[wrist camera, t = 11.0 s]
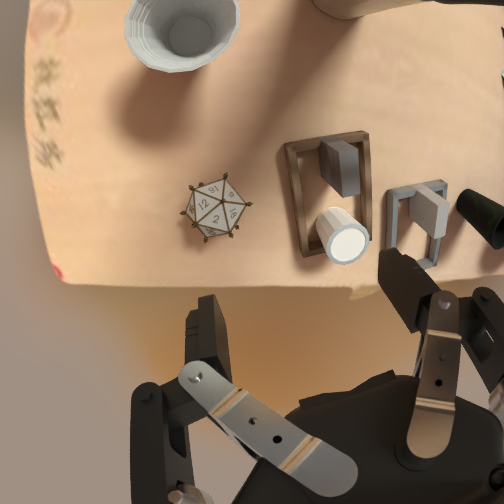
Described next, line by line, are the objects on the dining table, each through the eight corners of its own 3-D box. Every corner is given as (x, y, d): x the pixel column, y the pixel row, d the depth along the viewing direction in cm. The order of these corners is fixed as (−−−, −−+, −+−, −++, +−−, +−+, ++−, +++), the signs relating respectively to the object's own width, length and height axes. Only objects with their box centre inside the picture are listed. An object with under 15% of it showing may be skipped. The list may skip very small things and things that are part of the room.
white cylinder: (354, 202, 46) (373, 222, 40) (347, 239, 50) (365, 263, 44) (313, 203, 46) (329, 225, 40) (309, 242, 49) (323, 267, 43)
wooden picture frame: (283, 143, 40) (300, 159, 33) (362, 130, 40) (390, 143, 33) (300, 251, 50) (314, 281, 43) (366, 234, 50) (388, 260, 43)
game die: (225, 192, 47) (258, 243, 43) (174, 212, 44) (202, 267, 40) (229, 150, 39) (268, 204, 35) (168, 170, 36) (200, 231, 32)
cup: (468, 221, 52) (504, 251, 42) (447, 215, 50) (486, 247, 40) (481, 188, 48) (521, 215, 38) (461, 179, 46) (504, 207, 36)
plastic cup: (155, -3, 26) (135, -31, 16) (239, 4, 29) (251, -23, 19) (139, 72, 32) (112, 70, 22) (222, 79, 34) (228, 79, 24)
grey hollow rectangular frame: (387, 190, 45) (413, 211, 39) (440, 179, 45) (469, 198, 39) (383, 275, 55) (402, 302, 49) (431, 260, 55) (452, 283, 49)
